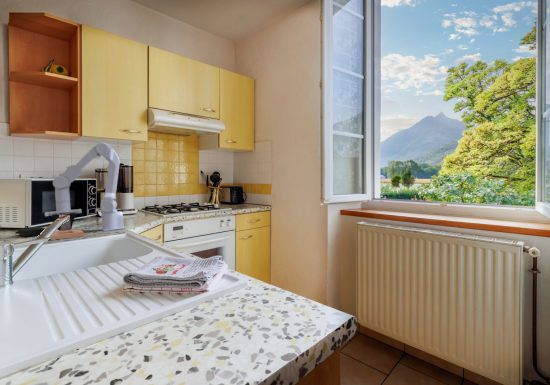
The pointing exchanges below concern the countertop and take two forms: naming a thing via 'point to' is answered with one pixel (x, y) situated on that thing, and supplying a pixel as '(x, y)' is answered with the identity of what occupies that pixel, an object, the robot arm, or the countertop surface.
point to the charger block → (65, 226)
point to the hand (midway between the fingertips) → (64, 229)
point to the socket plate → (67, 234)
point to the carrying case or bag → (30, 231)
